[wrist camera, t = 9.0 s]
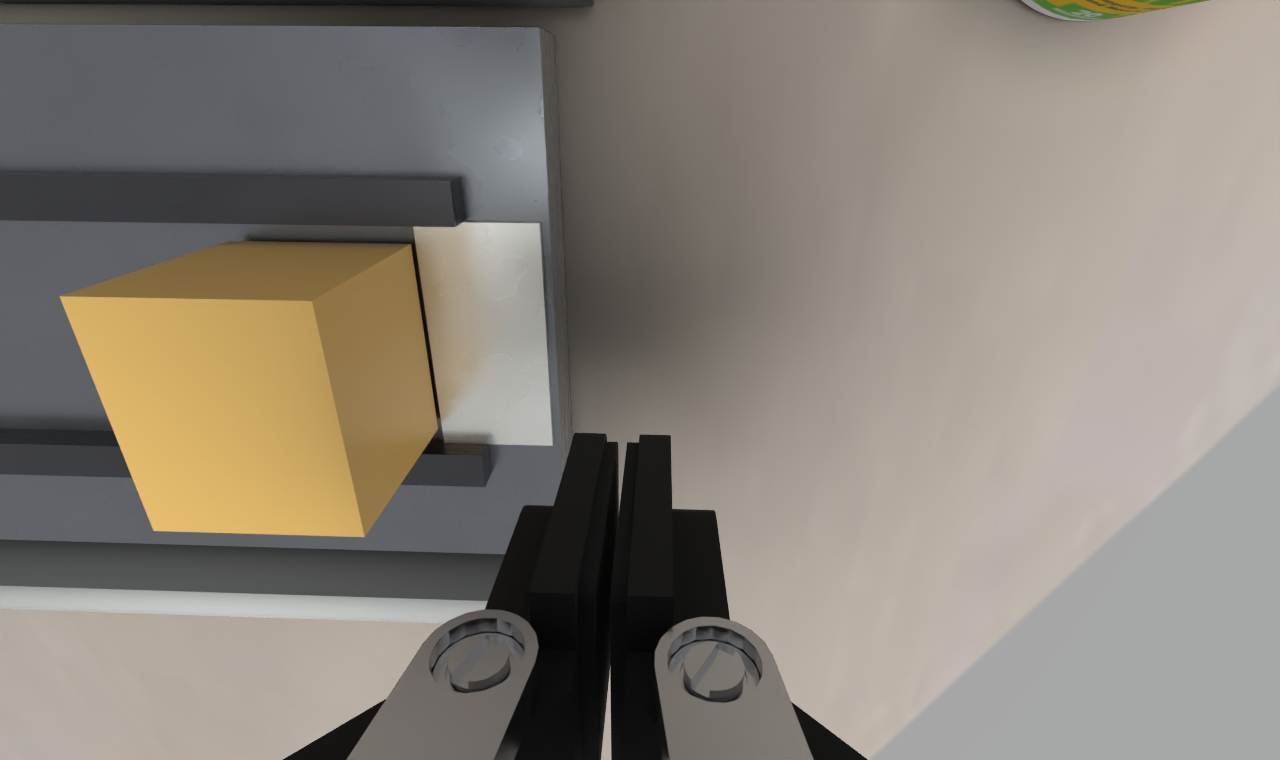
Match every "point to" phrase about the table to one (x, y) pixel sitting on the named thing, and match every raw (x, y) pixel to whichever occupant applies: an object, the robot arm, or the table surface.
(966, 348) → the table surface
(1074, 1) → the supplement bottle
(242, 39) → the railed metal tray
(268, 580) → the pair of dark bars
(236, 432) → the toggle
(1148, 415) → the table surface
